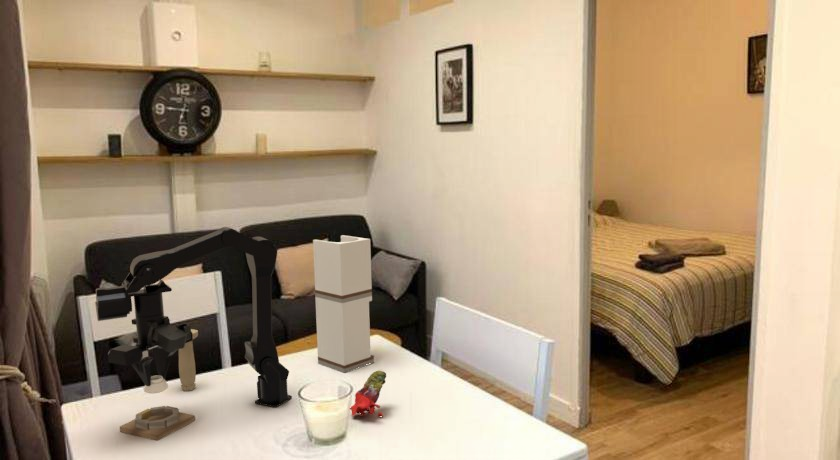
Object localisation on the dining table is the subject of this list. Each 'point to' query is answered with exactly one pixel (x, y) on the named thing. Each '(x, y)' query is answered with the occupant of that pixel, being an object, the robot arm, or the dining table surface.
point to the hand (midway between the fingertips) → (155, 382)
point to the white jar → (156, 385)
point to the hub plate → (158, 431)
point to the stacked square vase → (343, 302)
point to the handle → (187, 365)
